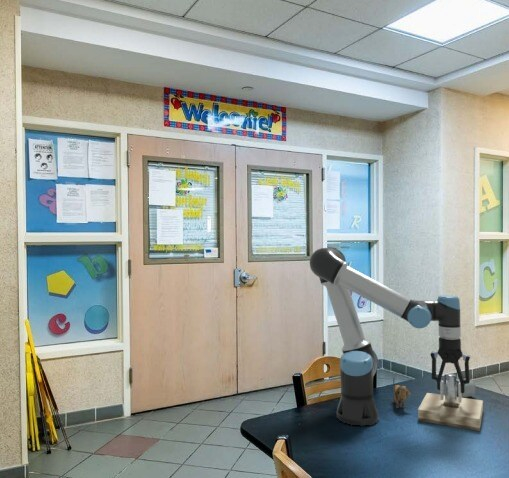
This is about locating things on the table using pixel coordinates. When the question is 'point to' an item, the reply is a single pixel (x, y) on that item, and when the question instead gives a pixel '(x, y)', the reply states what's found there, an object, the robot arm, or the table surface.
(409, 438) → the table surface
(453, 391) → the metal peg
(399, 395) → the lion figurine
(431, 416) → the maple block
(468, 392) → the ceramic mug
